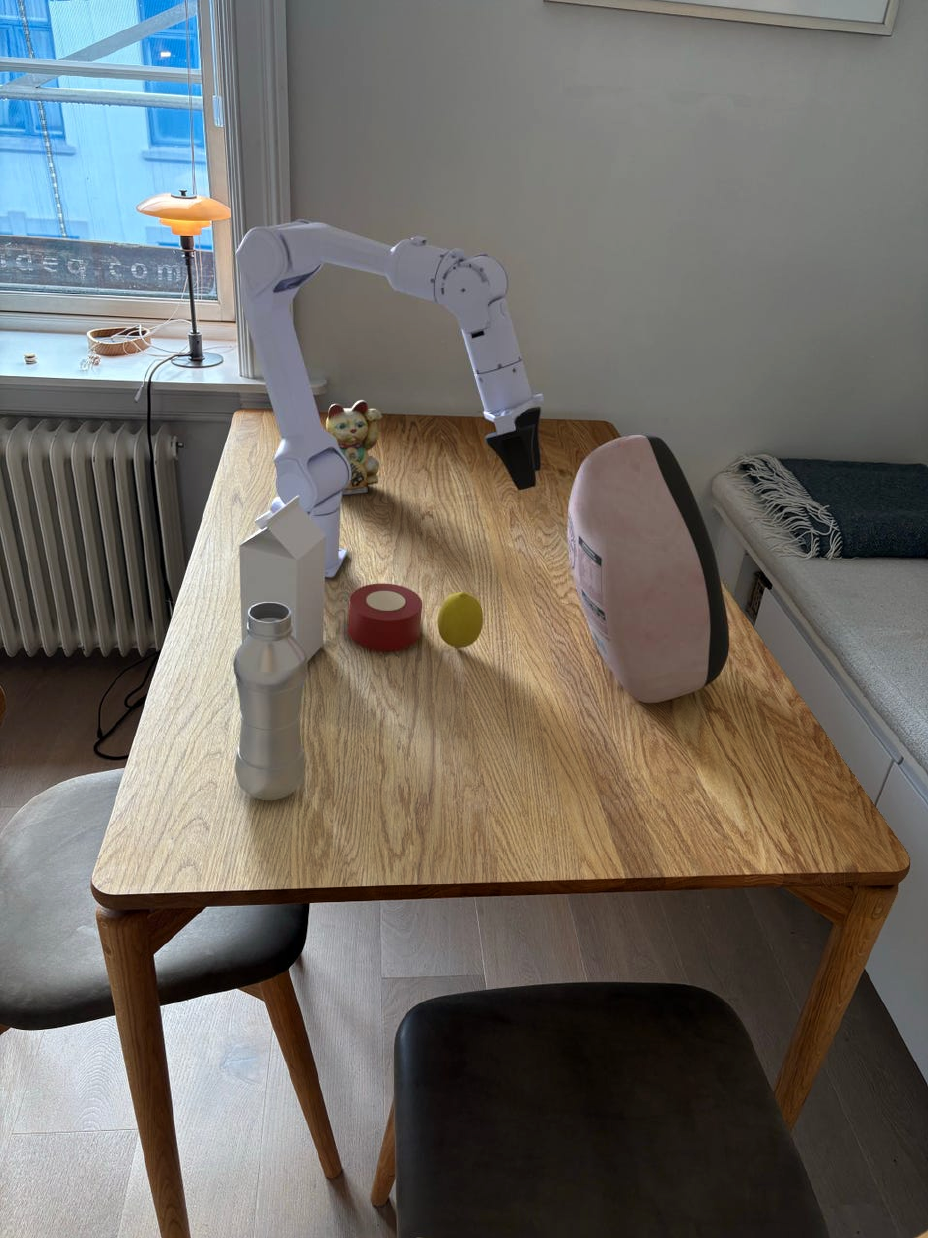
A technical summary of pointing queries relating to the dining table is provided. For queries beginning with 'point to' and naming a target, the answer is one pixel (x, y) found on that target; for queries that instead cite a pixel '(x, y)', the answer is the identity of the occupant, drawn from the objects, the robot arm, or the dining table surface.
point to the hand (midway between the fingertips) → (530, 479)
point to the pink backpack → (646, 570)
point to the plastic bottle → (270, 704)
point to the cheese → (384, 617)
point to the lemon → (460, 620)
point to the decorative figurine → (356, 442)
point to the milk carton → (286, 571)
